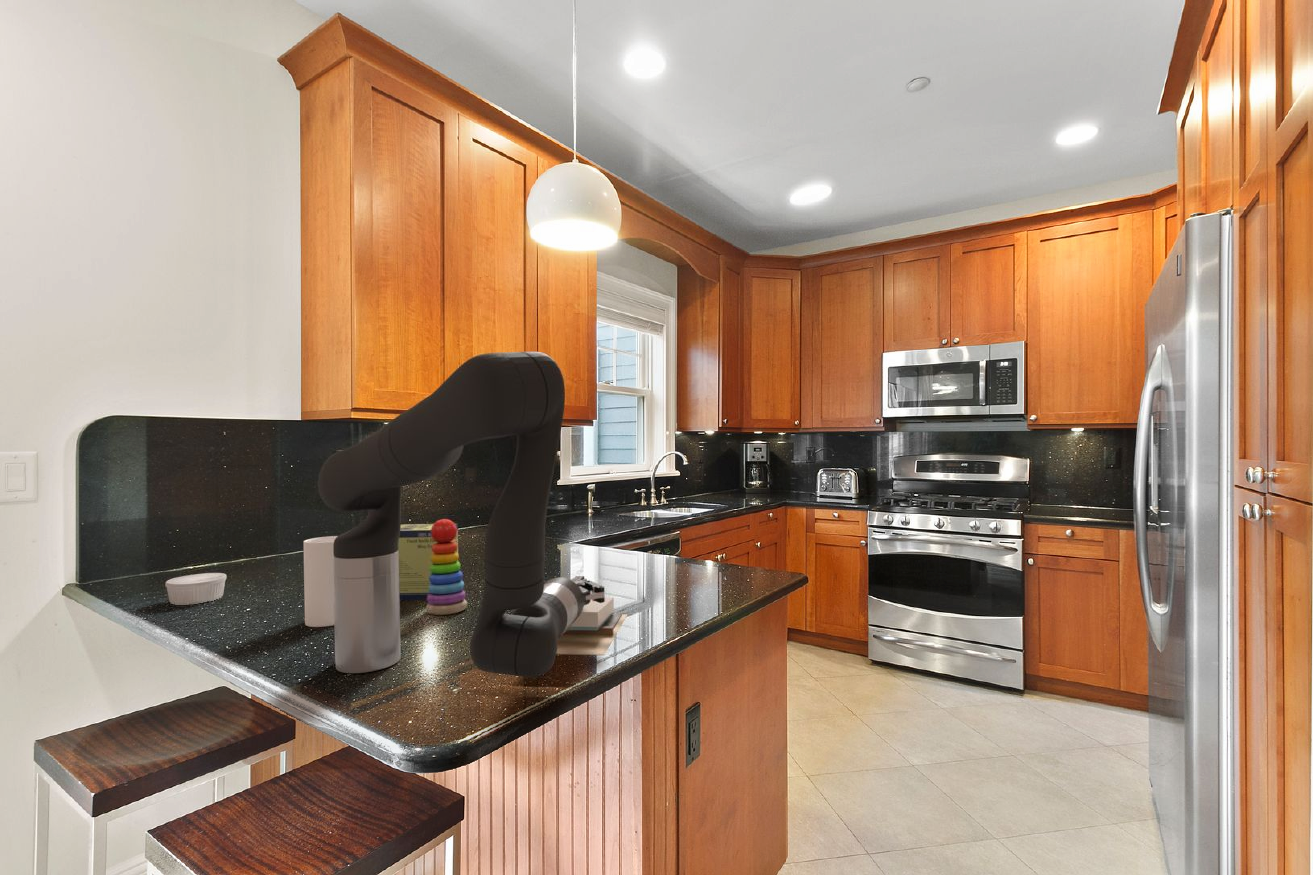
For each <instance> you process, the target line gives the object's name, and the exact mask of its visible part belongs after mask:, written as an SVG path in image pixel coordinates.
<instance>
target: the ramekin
mask: <svg viewBox="0 0 1313 875" xmlns="http://www.w3.org/2000/svg"><path fill="white" fill-rule="evenodd" d="M227 577H228V576H227V574H226V573H222V572H207V573H206V572H205V573H197V574H190V575H183V576H178V577H173V578H170V579H168V580H167V581H165V588H166V591H167V596H168V600H169V603H170V604H171V605H172V604H175V605H189V604H198V603H203V602H207V601H213V602H215V601H214V600H216V599H218V600H220V599H221V598H222V597H223V596H224V591H225V585H226V580H227ZM219 598H220V599H219ZM216 601H217V600H216ZM198 605H199V604H198Z"/></svg>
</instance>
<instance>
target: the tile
mask: <svg viewBox="0 0 1313 875" xmlns="http://www.w3.org/2000/svg"><path fill="white" fill-rule="evenodd" d="M614 601H615V600H614V597H605V602H603V603H598V602H596V601H592V599H591V601H590V603H589V604H587V605H584V607H583V610H582V612H581V614H580V615H579V617H578V618H577V619H576V620H575V622H574V623H573V624H572V625H571V626H570V627H569V629H568V630H598V629H599V628H600V627H601V626H602V625H603V624H604V623H605V622H606V621H607V619H608V618H609V617H610V616H611V615H612V613H613V612H614V611H615V610H614V609H615V608H614Z"/></svg>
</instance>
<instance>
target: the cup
mask: <svg viewBox="0 0 1313 875" xmlns="http://www.w3.org/2000/svg"><path fill="white" fill-rule="evenodd" d="M338 536H339V535H331V536H321V537H320V536H319V537H313V538H309V539H305V540H303V580H304V581H303V583H304V584H303V586H304V587H303V588H304V592H303V594H304V625H305V626H307V627H310V628H311V627H312V628H320V627H321V628H323V627H330V626H334V604H335V598H334V554H333V545H334V540H335V539H336V538H337V537H338Z"/></svg>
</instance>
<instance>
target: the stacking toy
mask: <svg viewBox="0 0 1313 875" xmlns="http://www.w3.org/2000/svg"><path fill="white" fill-rule="evenodd" d="M454 523H455V522H454V521H452V520H451V519H448V518H443V519H442V518H441V519H439V520H436V521H435V522H434V523H432V524H433V526H432V528H431V535H432V538H433V539H434V540H435V541H436V542H438V543H435V544H434V545H433V546H432V551H433V552H434V553H435V554H433V555H432V556H431V558H430V560H431V562H432V563H433V564H431V566H430V571H431V572H432V574H431V575H430V576H429V580H430V582H431V584H430V585H429V587H428V590H429V592H430V593H429V594H428V596H427V599H426V601H427V605H426V608H425V609H426V611H427V613H428V614H430V615H435V616H444V615H452V614H456V613H459V612H462V611H464V610H465V609H466V608H467V607H468V601H467V600H466V599H465V598H466V592H465V590H464V588H465V583H464V581H463V580H462V579H463V577H464V574H463V572H462V571H461V570H460V569H461V562H460V561H459V558H460V555H459V552H458V553H457V552H455V551H456V550H457V547H458V548H459V545H458V546H457V544H456V543H455V542H450V541H452V540H453V539H454V538H455V536H456V534H457V528H456V525H455V524H454ZM457 560H458V561H457Z"/></svg>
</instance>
